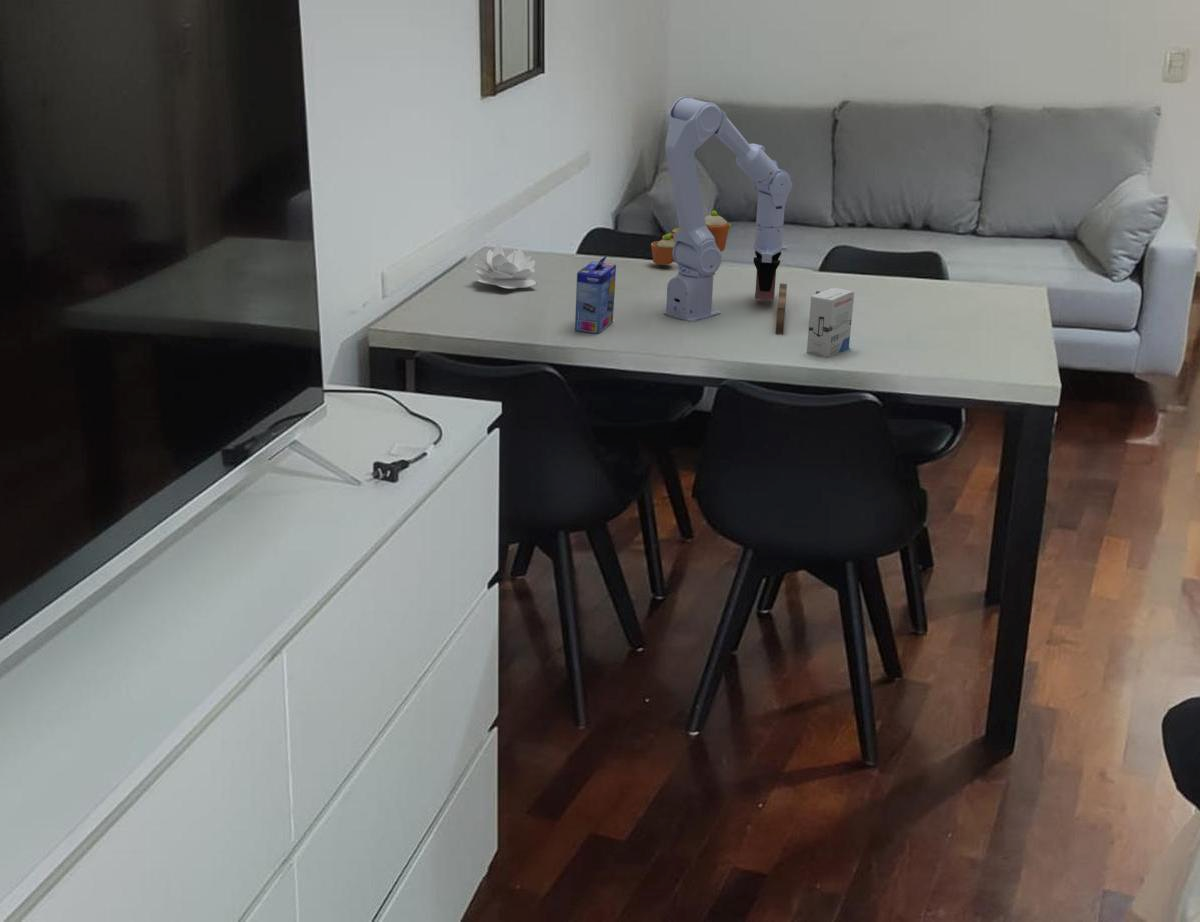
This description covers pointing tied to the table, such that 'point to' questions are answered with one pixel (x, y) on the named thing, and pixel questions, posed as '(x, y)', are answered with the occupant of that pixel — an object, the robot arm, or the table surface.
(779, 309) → the shelf wall
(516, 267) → the lotus flower
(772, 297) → the mauve rectangular block
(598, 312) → the ink cartridge box
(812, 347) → the ink box
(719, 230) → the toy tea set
